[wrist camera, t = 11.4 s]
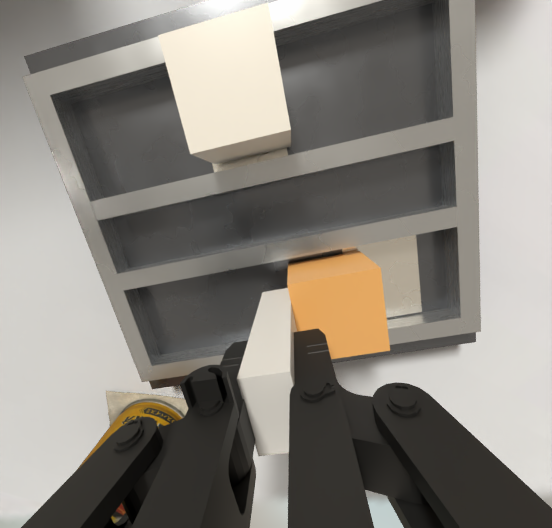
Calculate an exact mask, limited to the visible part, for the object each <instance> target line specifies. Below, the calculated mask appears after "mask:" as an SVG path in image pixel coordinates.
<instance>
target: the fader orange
mask: <svg viewBox="0 0 552 528" xmlns="http://www.w3.org/2000/svg"><path fill="white" fill-rule="evenodd" d="M287 286H288V291H289V296H290V300H291V305H292V309H293V314H294V319H295V324H296V329H297V332H298V331H305V330H311V329H320V330H321V331H322V332H323V333H324V334H325V336H326V340H327V344H328V348H329V352H330V356H331V359H337V358H343V357H350V356H357V355H364V354H371V353H377V352H384V351H390V344H389V336H388V327H387V318H386V309H385V301H384V292H383V283H382V274H381V268H380V267H379V266H378V265H377V264H375V263H374V262H373V261H372V260H370V259H369V258H368V257H367V256H365V255H364V254H363V253H362V252H360V251H355V252H350V253H344V254H339V255H334V256H328V257H323V258H318V259H313V260H307V261H302V262H297V263H291V264H288V276H287Z"/></svg>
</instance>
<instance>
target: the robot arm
mask: <svg viewBox="0 0 552 528" xmlns="http://www.w3.org/2000/svg"><path fill="white" fill-rule="evenodd" d="M180 386H181V389H182V392H183V395H184V398H185V400H186V403H187V406H188V411H187V413H186V415H185V417H184V418H182V419H180V420H178V421H175V422H173V423H170V424H167V425H165V426H162V427H160V428H158V426H157V423H156V421H155V419H154V418H151V417H140V418H137V419H134V420H132V421H130V422H128V423H126V424H125V425H123V426H121V427H120V428H119V429H117V430H116V431H115V432H114V433H113V434H112V435H111V436H110V437H109V438H108V439H107V440H106V441H105V442H104V443H103V444H102V445H101V446H100V447H99V448H98V449H97V450H96V451H95V452H94V453H93V454H92V455H91V456H90V457H89V458H88V459H87V460H86V461H85V462H84V463H83V464H82V465H81V466H80V467H79V469H78V470H77V471H76V472H75V473H74V474H73V475H72V476H71V477H70V478H69V479H68V480H67V481H66V482H65V483H64V484H63V485H62V486H61V487H60V488H59V489H58V490H57V491H56V492H55V493H54V494H53V495H52V496H51V497H50V498H49V499H48V500H47V501H46V503H45V504H44V505H43V506H42V507H41V508H40V509H39V510H38V511H37V512H36V513H35V514H34V515H33V516H32V517H31V518H30V519H29V520H28V521H27V522H26V523H25V524H24V525H23V526H22V527H21V528H249V527H250V520H251V512H252V504H253V496H254V488H255V480H256V469H255V465H254V461H253V451H254V445H256V449H257V452H258V456H265V455H274V454H284V453H289V485H288V528H374V526H373V522H372V518H371V514H370V509H369V505H368V501H367V497H366V493H365V490H368V491H372V492H376V493H379V494H383V495H386V496H387V497H388V499H389V501H390V503H391V505H392V507H393V508H394V510H395V512H396V513H397V516H398V517H399V519H400V521H401V523H402V525H403V527H404V528H552V508H551V507H550V506H549V505H548V504H546V503H545V502H544V501H543V500H542V499H541V498H540V497H539V496H538V495H537V494H536V493H535V492H534V491H532V490H531V489H530V488H529V487H528V486H527V485H526V484H525V483H524V482H523V481H522V480H521V479H520V478H518V477H517V476H516V475H515V474H514V473H513V472H512V471H511V470H510V469H509V468H508V467H507V466H506V465H504V464H503V463H502V462H501V461H500V460H499V459H498V458H497V457H496V456H495V455H494V454H493V453H492V452H490V451H489V450H488V449H487V448H486V447H485V446H484V445H483V444H482V443H481V442H480V441H479V440H478V439H476V438H475V437H474V436H473V435H472V434H471V433H470V432H469V431H468V430H467V429H466V428H465V427H464V426H462V425H461V424H460V423H459V422H458V421H457V420H456V419H455V418H454V417H453V416H452V415H451V414H449V413H448V412H447V411H446V410H445V409H444V408H443V407H442V406H441V405H440V404H439V403H438V402H437V401H435V400H434V399H433V398H432V397H431V396H430V395H429V394H428V393H426V392H425V391H423V390H422V389H420V388H418V387H416V386H413V385H410V384H405V383H391V384H386V385H384V386H382V387H380V388H378V389H377V391H376V392H375V393H374V395H373V397H369V396H362V395H357V394H353V393H351V392H349V391H347V390H345V389H344V388H342V387H341V386H340V384H339V383H338V382H337V380H336V377H335V373H334V369H333V364H332V360H331V356H330V352H329V348H328V344H327V340H326V336H325V334H324V333H323V332H322V331H321V330H320V329H311V330H305V331H298V332H297V329H296V324H295V319H294V314H293V309H292V305H291V300H290V296H289V291H288V288H284V289H278V290H273V291H267V292H263V293H262V296H261V299H260V303H259V306H258V309H257V313H256V316H255V319H254V323H253V326H252V329H251V333H250V336H249V339H248V340H247V341H241V342H234V343H233V344H232V345H231V346H230V347H229V348H228V349H227V350H226V351H225V354H224V356H223V358H222V361H221V363H220V365H208V366H204V367H201V368H199V369H197V370H195V371H193V372H191V373H190V374H189V375H187V376H186V377H185V378H184V379H183V380H182V382H181V383H180ZM121 503H122V505H123V508H124V510H125V512H126V513H125V514H124V515H123V516H122V518H121V519H120V520H119V521H118V522H116V523H114V522H113V520H112V518H111V517H112V515H113V514H114V513H115V511H116V510H117V509H118V507H119V506H120V505H121Z"/></svg>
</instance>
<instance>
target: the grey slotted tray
mask: <svg viewBox="0 0 552 528" xmlns="http://www.w3.org/2000/svg"><path fill="white" fill-rule="evenodd" d="M264 3H268V4H269V10H270V15H271V21H272V26H273V32H274V38H275V43H276V49H277V54H278V60H279V66H280V71H281V77H282V82H283V88H284V94H285V99H286V105H287V110H288V116H289V122H290V127H291V147H287V148H283V149H279V150H274V151H270V152H266V153H262V154H258V155H253V156H249V157H245V158H241V159H236V160H232V161H228V162H224V163H219V164H213V163H211V162H208V161H206V160H203V159H201V158H198V157H196V156H194V155H191V154H190V151H189V148H188V144H187V140H186V137H185V133H184V129H183V125H182V122H181V118H180V114H179V111H178V107H177V103H176V100H175V96H174V92H173V89H172V85H171V81H170V78H169V74H168V70H167V67H166V63H165V59H164V55H163V52H162V48H161V44H160V41H159V37H158V35H160V34H164V33H167V32H170V31H174V30H177V29H181V28H184V27H187V26H191V25H194V24H197V23H201V22H204V21H207V20H211V19H214V18H217V17H221V16H224V15H227V14H231V13H234V12H238V11H241V10H244V9H248V8H251V7H254V6H258V5H261V4H264ZM24 57H25V60H26V63H27V65H28V68H29V70H30V73H31V74H30V75H27V76H24V77H22V78H23V80H24V83H25V85H26V88H27V91H28V93H29V96H30V98H31V101H32V103H33V106H34V108H35V111H36V113H37V116H38V119H39V121H40V124H41V126H42V129H43V131H44V134H45V136H46V139H47V141H48V144H49V146H50V149H51V152H52V154H53V157H54V159H55V162H56V164H57V167H58V169H59V172H60V174H61V177H62V180H63V182H64V185H65V187H66V190H67V192H68V195H69V197H70V200H71V202H72V205H73V208H74V210H75V213H76V215H77V218H78V220H79V223H80V225H81V228H82V230H83V233H84V235H85V238H86V241H87V243H88V246H89V248H90V251H91V253H92V256H93V258H94V261H95V263H96V266H97V269H98V271H99V274H100V276H101V279H102V281H103V284H104V286H105V289H106V291H107V294H108V296H109V299H110V302H111V304H112V307H113V309H114V312H115V314H116V317H117V319H118V322H119V324H120V327H121V330H122V332H123V335H124V337H125V340H126V342H127V345H128V347H129V350H130V352H131V355H132V358H133V360H134V363H135V365H136V368H137V370H138V373H139V375H140V378H141V380H142V382H145V381H149V382H150V384H151V387H152V389H157V388H163V387H170V386H177V385H180V383H181V382H182V380H183V379H184V378H185V377H186V376H187V375H189V374H190V373H191V372H193V371H195V370H197V369H199V368H201V367H204V366H208V365H220V363H221V361H222V358H223V356H224V354H225V351H226V350H227V349H228V348H229V347H230V346H231V345H232V344H233V343H234V342H241V341H247V340H248V339H249V336H250V333H251V329H252V326H253V323H254V319H255V316H256V313H257V309H258V306H259V303H260V299H261V296H262V293H263V292H267V291H273V290H278V289H284V288H288V286H287V276H288V264H291V263H297V262H302V261H307V260H313V259H318V258H323V257H328V256H334V255H339V254H344V253H350V252H355V251H360V252H362V253H363V254H364V255H365V256H367V257H368V258H369V259H370V260H372V261H373V262H374V263H375V264H377V265H378V266H379V267H380V268H381V274H382V283H383V292H384V301H385V309H386V318H387V327H388V336H389V344H390V351H384V352H377V353H371V354H364V355H357V356H350V357H343V358H337V359H331V360H332V363H335V362H342V361H349V360H355V359H362V358H369V357H376V356H383V355H390V354H397V353H403V352H410V351H417V350H424V349H431V348H438V347H445V346H451V345H458V344H465V343H472V342H476V332H479V331H481V316H480V258H479V200H478V142H477V84H476V26H475V0H207V1H203V2H200V3H197V4H194V5H190V6H187V7H184V8H181V9H177V10H174V11H171V12H168V13H164V14H161V15H158V16H155V17H151V18H148V19H145V20H142V21H138V22H135V23H132V24H129V25H125V26H122V27H119V28H115V29H112V30H109V31H106V32H102V33H99V34H96V35H93V36H89V37H86V38H83V39H80V40H76V41H73V42H70V43H67V44H63V45H60V46H57V47H54V48H50V49H47V50H44V51H41V52H37V53H34V54H31V55H27V56H24Z"/></svg>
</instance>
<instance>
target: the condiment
mask: <svg viewBox="0 0 552 528" xmlns="http://www.w3.org/2000/svg"><path fill="white" fill-rule="evenodd" d="M106 397H107V404H108V415H109V419H110V427H109V429H108V430H107V431H106V433H105V434H104V435H103V437H102V438H101V439H100V440H99V442H98V443H97V445H96V446H95V447H94V448H93V450H92V451H91V452H90V454H89V455H88V456H87V457H86V459H85V460H84V461H83V462H82V464H83V463H84V462H85V461H86V460H87V459H88V458H89V457H90V456H91V455H92V454H93V453H94V452H95V451H96V450H97V449H98V448H99V447H100V446H101V445H102V444H103V443H104V442H105V441H106V440H107V439H108V438H109V437H110V436H111V435H112V434H113V433H114V432H115V431H116V430H117V429H119V428H120V427H121V426H123V425H125V424H126V423H128V422H130V421H132V420H134V419H137V418H140V417H151V418H154V419H155V421H156V423H157V426H158V428H160V427H162V426H165V425H167V424H170V423H173V422H175V421H178V420H180V419H182V418H184V417H185V415H186V413H187V411H188V406H187V403H186V400H185V399H182V398H174V397H168V396H159V395H148V394H139V393H121V392H111V391H106ZM82 464H81V465H82ZM81 465H80V466H81ZM78 469H79V468H78ZM78 469H77V470H78ZM77 470H76V471H77ZM125 513H126V512H125V510H124V508H123V505H122V503H121V505H120V506H119V507H118V509H117V510H116V511H115V513H114V514H113V515H112V517H111V518H112V520H113V522H114V523H116V522H118V521H119V520H120V519H121V518H122V516H123V515H124V514H125Z"/></svg>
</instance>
